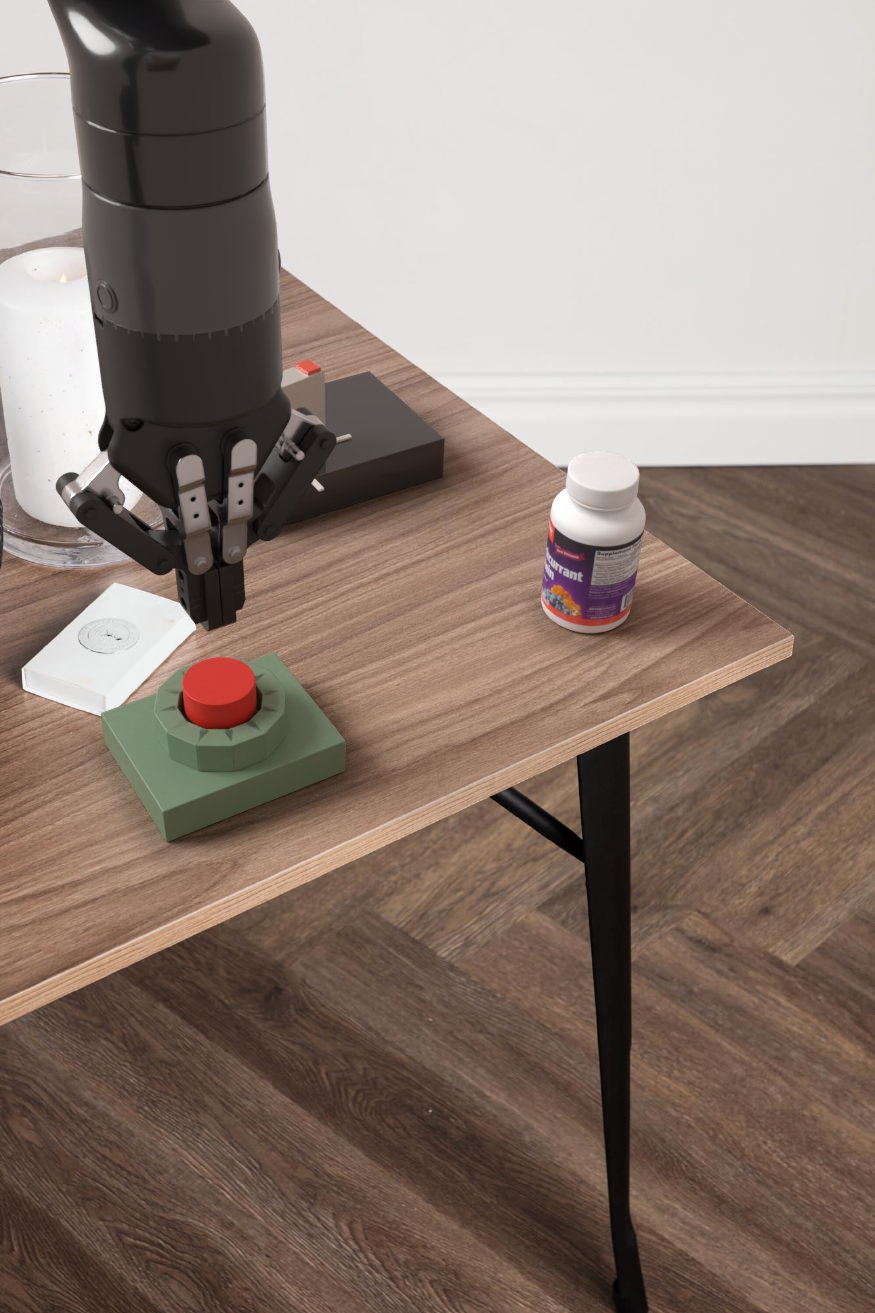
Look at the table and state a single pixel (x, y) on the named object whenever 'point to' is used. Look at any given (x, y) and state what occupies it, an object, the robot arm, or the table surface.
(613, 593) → the pill bottle
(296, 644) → the table surface
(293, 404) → the beige rectangular block
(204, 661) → the red button cap
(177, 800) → the button housing
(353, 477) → the panel
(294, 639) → the table surface
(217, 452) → the robot arm
